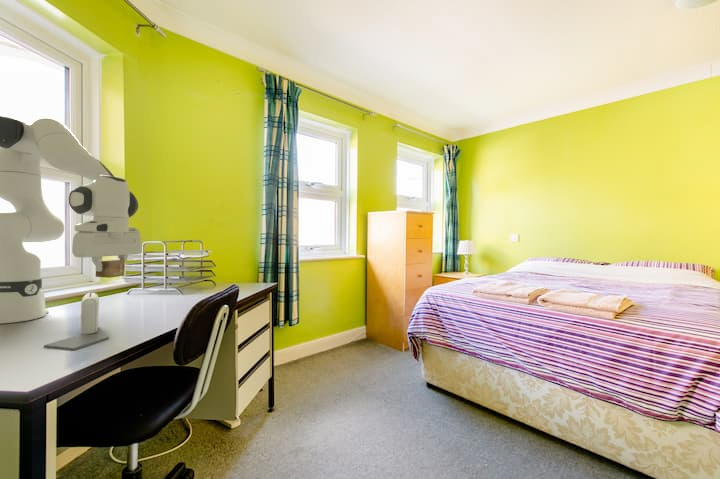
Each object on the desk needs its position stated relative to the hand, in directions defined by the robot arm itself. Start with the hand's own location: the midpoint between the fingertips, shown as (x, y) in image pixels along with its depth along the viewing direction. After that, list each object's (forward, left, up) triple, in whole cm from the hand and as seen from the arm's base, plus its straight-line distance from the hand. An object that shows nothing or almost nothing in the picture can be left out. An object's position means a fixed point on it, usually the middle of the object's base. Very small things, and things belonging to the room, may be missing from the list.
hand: (110, 270), depth 96 cm
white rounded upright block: (-10, +3, -21) cm, 24 cm away
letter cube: (0, 0, -2) cm, 2 cm away
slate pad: (-2, -7, -21) cm, 22 cm away
